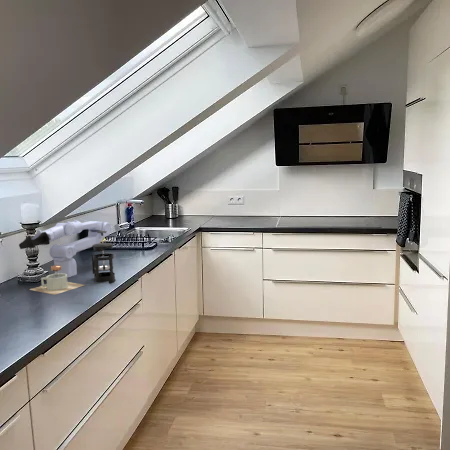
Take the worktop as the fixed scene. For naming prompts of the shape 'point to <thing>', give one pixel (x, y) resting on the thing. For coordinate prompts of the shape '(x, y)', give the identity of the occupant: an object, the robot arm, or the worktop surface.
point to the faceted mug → (55, 282)
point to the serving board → (54, 292)
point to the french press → (96, 268)
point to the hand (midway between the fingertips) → (26, 245)
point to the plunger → (56, 270)
